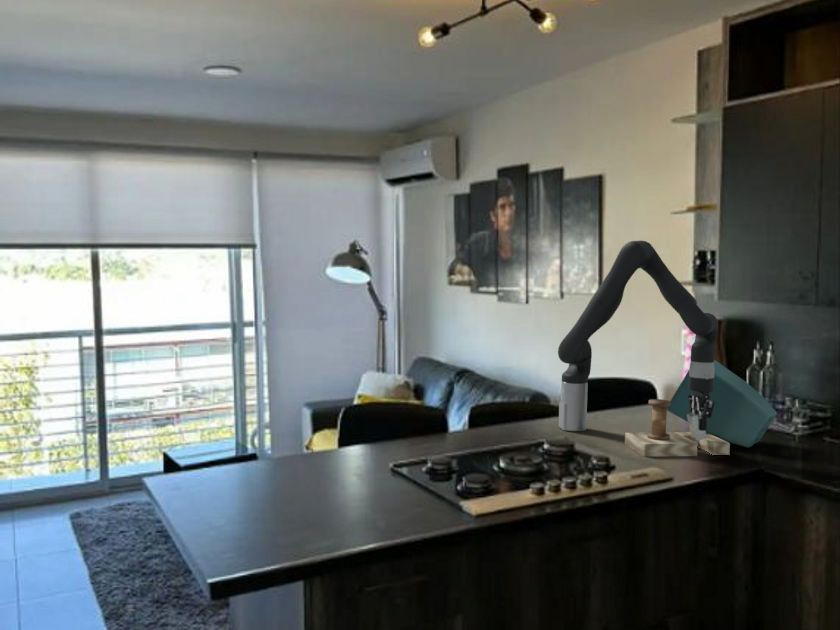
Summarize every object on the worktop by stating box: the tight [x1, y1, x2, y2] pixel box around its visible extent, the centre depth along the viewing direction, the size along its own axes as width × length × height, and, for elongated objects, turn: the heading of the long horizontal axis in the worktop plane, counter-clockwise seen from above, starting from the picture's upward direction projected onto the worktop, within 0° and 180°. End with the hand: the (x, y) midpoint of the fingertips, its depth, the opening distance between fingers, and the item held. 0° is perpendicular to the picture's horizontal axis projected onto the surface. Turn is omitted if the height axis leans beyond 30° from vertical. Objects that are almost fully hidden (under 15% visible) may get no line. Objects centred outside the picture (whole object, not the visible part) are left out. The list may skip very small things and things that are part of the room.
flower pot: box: [667, 359, 778, 448], centre depth 255 cm, size 20×20×28 cm
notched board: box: [624, 431, 731, 458], centre depth 244 cm, size 28×16×4 cm, turn 96°
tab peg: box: [687, 412, 707, 441], centre depth 241 cm, size 4×4×8 cm
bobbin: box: [647, 398, 671, 440], centre depth 243 cm, size 7×7×12 cm
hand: (699, 428), depth 241 cm, fingers closed on tab peg, 3 cm apart
